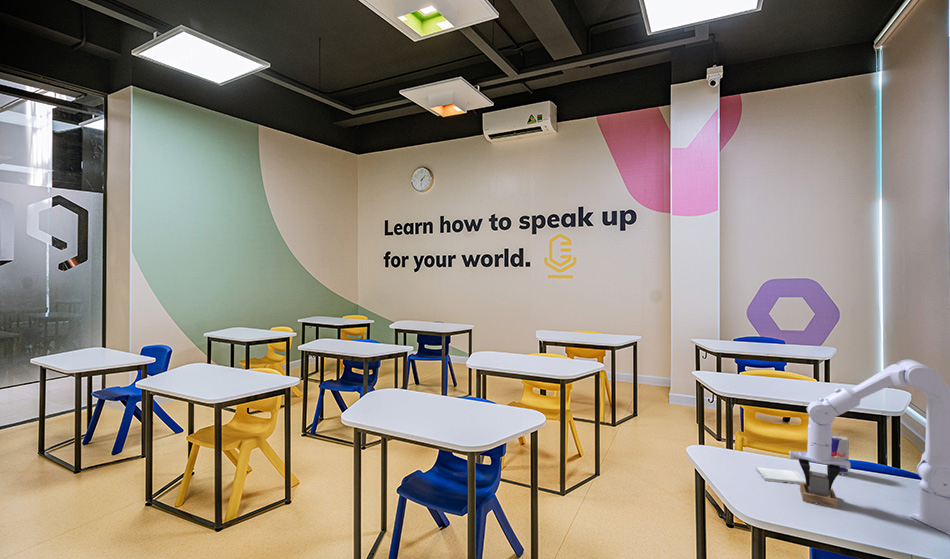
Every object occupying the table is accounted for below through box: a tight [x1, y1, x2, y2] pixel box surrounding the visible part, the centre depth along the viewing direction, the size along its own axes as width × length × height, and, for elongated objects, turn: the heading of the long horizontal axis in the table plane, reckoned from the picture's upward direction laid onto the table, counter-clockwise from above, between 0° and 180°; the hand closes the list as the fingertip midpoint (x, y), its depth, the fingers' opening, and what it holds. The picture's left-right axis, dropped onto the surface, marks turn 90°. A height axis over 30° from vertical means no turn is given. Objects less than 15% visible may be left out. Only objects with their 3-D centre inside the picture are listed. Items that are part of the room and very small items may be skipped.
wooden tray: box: [799, 482, 838, 509], centre depth 137 cm, size 8×8×2 cm
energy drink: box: [831, 434, 850, 476], centre depth 155 cm, size 5×5×12 cm
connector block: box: [808, 470, 829, 497], centre depth 137 cm, size 4×4×6 cm
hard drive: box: [755, 466, 806, 485], centre depth 151 cm, size 2×8×12 cm
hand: (818, 486), depth 137 cm, fingers closed on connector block, 4 cm apart
